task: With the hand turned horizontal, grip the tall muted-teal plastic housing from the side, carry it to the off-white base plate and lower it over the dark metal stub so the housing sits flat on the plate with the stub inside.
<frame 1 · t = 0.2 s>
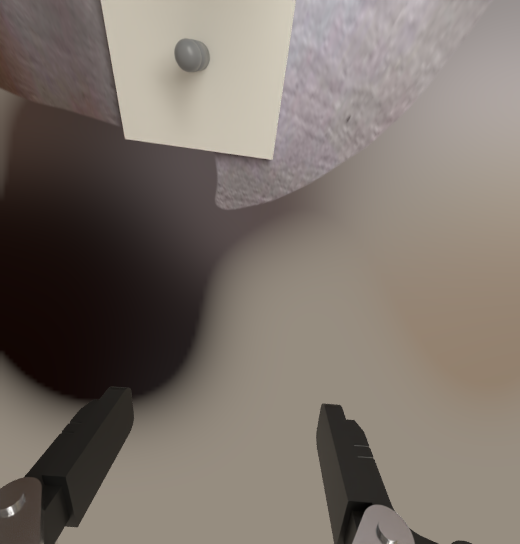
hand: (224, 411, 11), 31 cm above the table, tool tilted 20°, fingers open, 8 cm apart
stub base: (200, 56, 28), on the table
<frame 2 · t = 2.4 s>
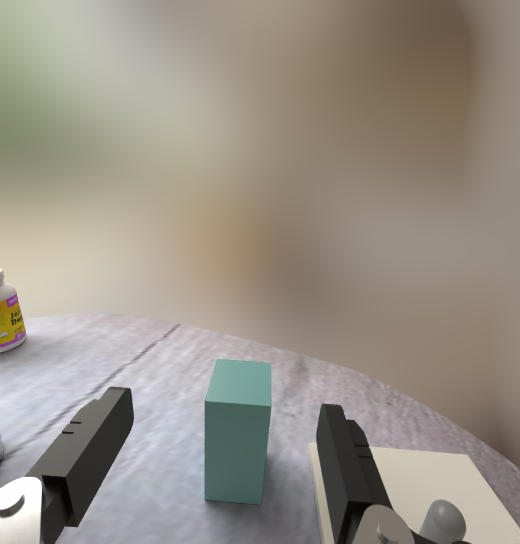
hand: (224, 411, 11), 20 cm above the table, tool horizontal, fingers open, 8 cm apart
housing: (236, 473, 28), on the table
supplement bottle: (2, 345, 46), on the table
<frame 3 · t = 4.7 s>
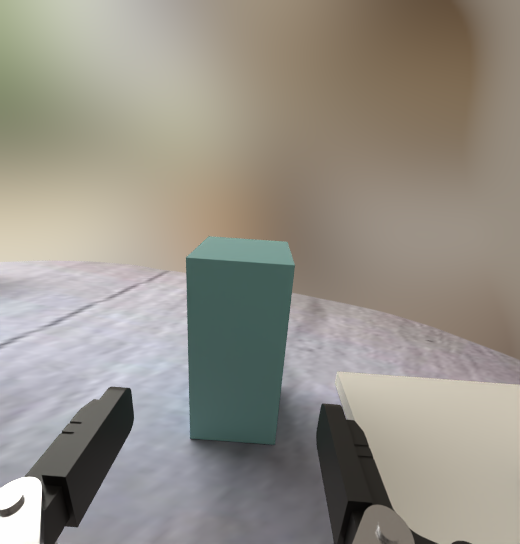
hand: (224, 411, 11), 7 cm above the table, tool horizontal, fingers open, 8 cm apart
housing: (237, 407, 20), on the table
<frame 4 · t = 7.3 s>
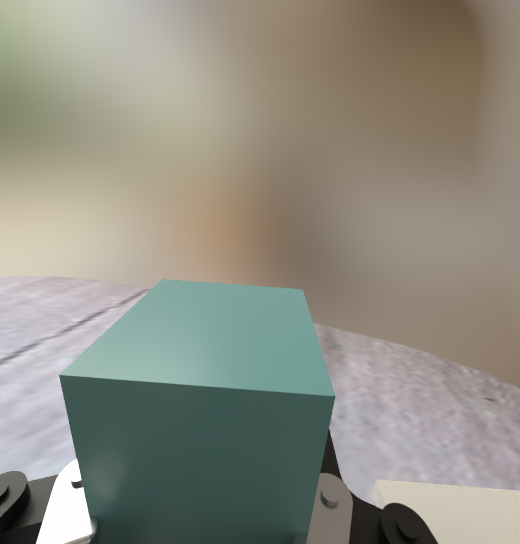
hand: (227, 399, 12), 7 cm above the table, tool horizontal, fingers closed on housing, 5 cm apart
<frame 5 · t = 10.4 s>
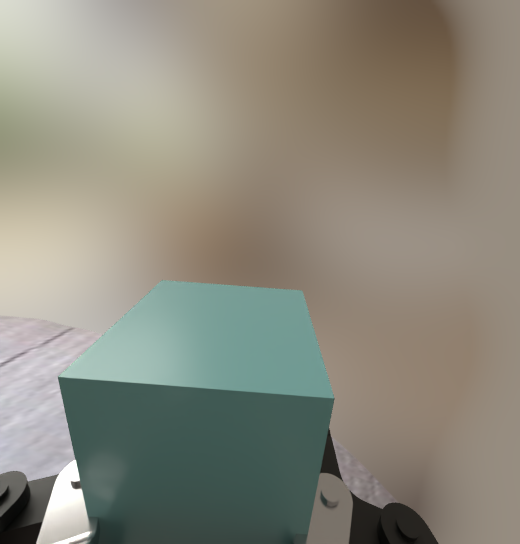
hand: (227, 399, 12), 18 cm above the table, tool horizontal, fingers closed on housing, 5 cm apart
when the fingers open (9 cm above the table, at t = 13.6 s): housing drops 1 cm, resting on stub base.
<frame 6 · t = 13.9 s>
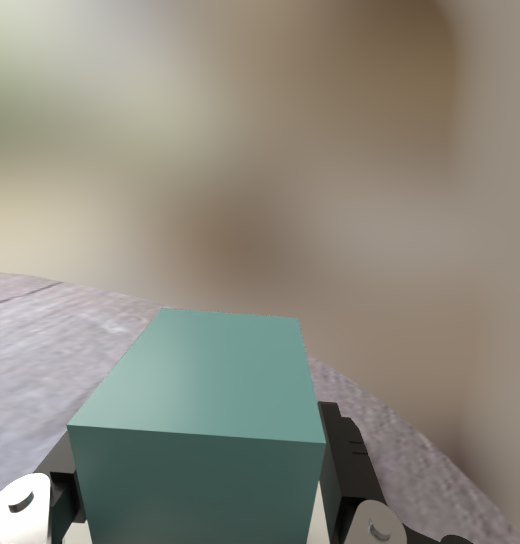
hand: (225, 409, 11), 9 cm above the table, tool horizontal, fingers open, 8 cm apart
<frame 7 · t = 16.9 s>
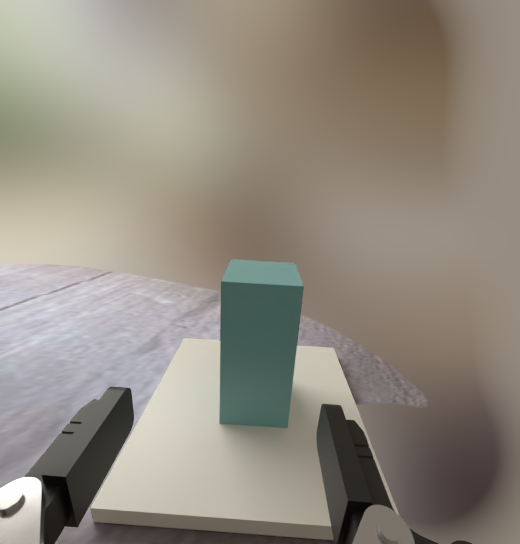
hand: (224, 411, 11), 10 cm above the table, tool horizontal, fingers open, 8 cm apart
stub base: (254, 410, 24), on the table
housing: (254, 399, 24), point 1 cm above the table, touching stub base
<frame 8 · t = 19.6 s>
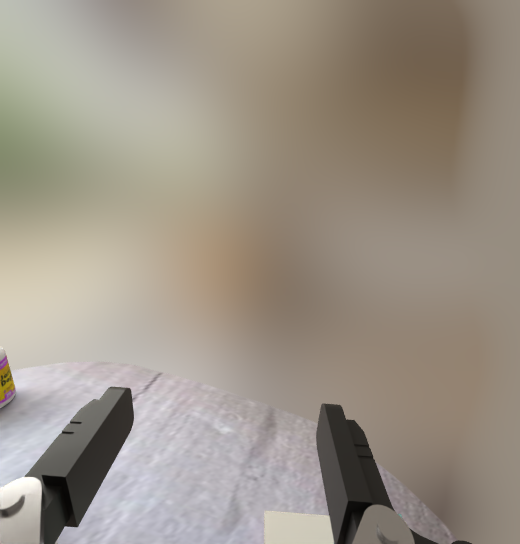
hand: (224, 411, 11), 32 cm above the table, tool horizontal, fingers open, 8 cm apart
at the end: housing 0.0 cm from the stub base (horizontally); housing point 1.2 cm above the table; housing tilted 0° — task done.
